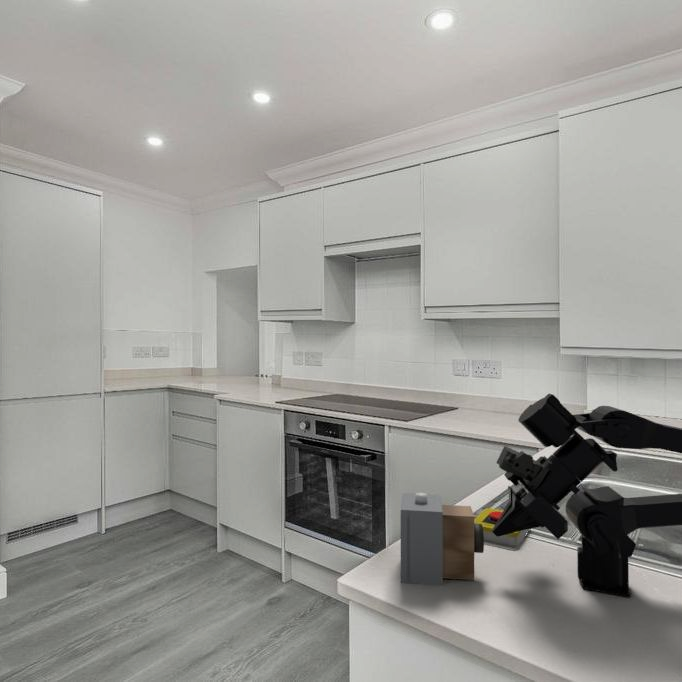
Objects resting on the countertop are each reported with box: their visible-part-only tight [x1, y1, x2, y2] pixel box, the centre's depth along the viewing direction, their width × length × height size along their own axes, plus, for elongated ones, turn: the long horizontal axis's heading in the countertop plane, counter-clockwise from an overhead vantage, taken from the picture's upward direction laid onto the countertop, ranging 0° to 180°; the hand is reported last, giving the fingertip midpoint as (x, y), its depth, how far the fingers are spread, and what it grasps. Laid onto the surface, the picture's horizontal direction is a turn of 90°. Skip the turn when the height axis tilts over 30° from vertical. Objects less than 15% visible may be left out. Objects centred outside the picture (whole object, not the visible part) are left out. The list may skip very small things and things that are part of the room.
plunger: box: [441, 504, 485, 581], centre depth 78 cm, size 6×5×10 cm
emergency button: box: [474, 507, 529, 551], centre depth 96 cm, size 9×4×15 cm
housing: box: [400, 492, 444, 586], centre depth 80 cm, size 6×9×13 cm
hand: (494, 533), depth 78 cm, fingers closed
